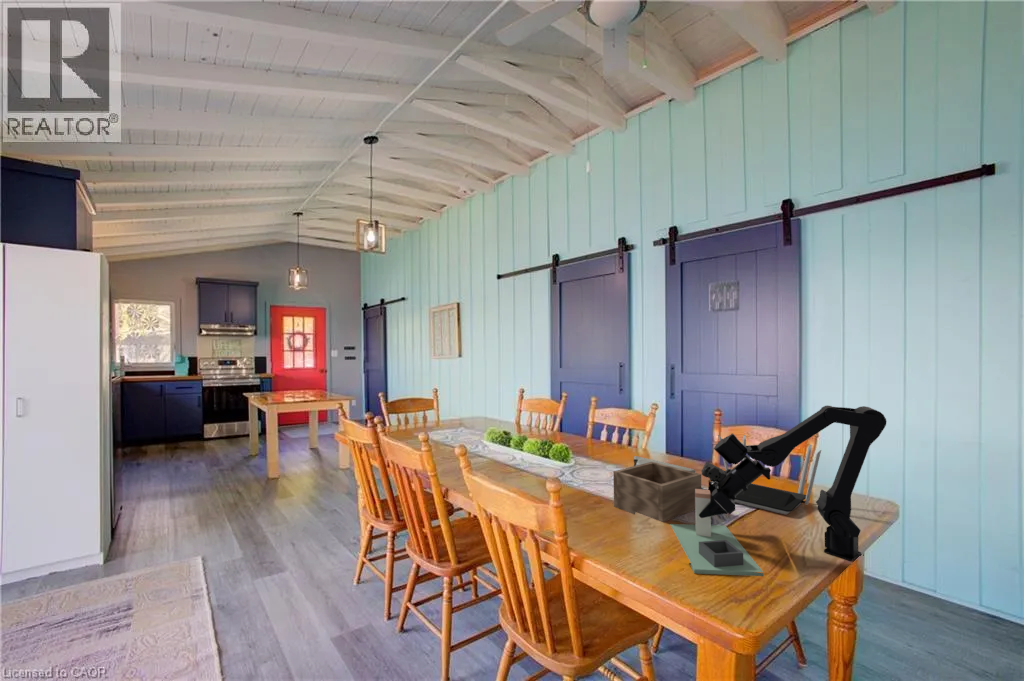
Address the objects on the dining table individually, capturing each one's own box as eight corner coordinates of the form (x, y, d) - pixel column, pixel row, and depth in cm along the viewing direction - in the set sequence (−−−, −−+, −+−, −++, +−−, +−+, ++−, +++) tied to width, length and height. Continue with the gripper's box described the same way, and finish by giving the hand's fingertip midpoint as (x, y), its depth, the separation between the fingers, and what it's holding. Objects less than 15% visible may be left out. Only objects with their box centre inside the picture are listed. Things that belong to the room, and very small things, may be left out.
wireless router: (702, 496, 171) (701, 440, 171) (730, 482, 187) (729, 431, 186) (808, 522, 146) (808, 457, 146) (830, 503, 162) (830, 444, 162)
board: (670, 527, 144) (669, 523, 144) (725, 528, 142) (725, 525, 142) (694, 573, 116) (694, 569, 116) (763, 576, 115) (763, 572, 115)
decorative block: (638, 471, 204) (638, 453, 204) (702, 488, 179) (702, 468, 179) (626, 474, 199) (626, 456, 199) (690, 493, 175) (690, 472, 175)
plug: (710, 531, 138) (709, 490, 138) (710, 536, 135) (710, 494, 135) (695, 529, 140) (695, 488, 140) (695, 534, 136) (695, 493, 136)
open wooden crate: (701, 510, 157) (701, 474, 157) (662, 525, 146) (662, 486, 146) (652, 494, 174) (652, 461, 174) (613, 506, 162) (613, 471, 162)
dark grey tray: (726, 551, 126) (726, 539, 126) (743, 564, 118) (743, 552, 118) (698, 553, 125) (698, 541, 125) (714, 567, 117) (714, 555, 117)
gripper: (717, 446, 144) (679, 479, 148) (721, 462, 127) (677, 499, 131) (746, 475, 142) (706, 508, 146) (754, 495, 124) (709, 532, 128)
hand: (699, 510), depth 138 cm, fingers open, 9 cm apart
